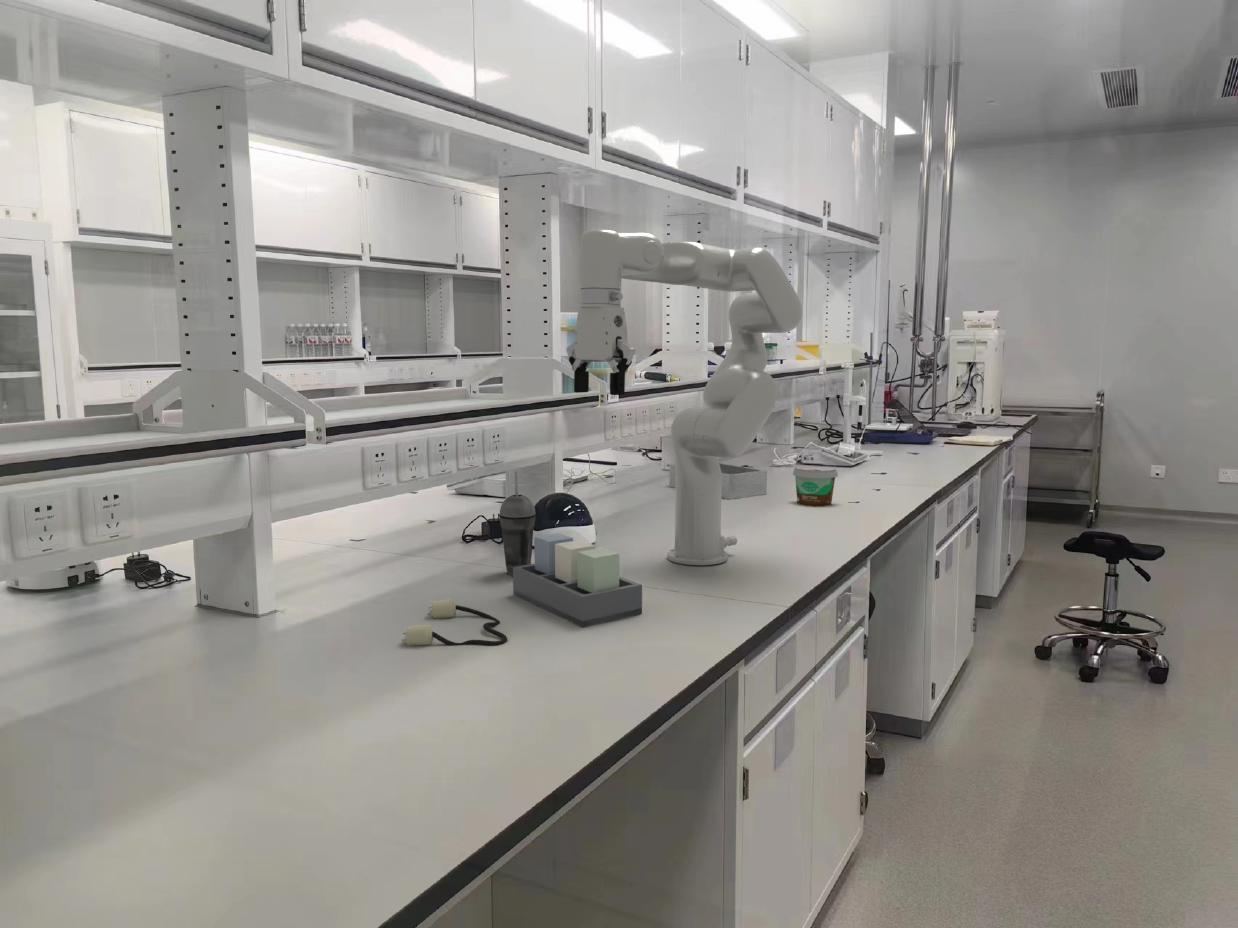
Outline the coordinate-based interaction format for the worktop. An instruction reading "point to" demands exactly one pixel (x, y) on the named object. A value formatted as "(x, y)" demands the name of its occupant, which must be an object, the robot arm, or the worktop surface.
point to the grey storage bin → (736, 481)
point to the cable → (448, 610)
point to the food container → (814, 486)
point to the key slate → (547, 551)
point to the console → (577, 597)
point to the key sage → (597, 570)
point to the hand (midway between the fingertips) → (598, 393)
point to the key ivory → (568, 559)
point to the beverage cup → (517, 529)
